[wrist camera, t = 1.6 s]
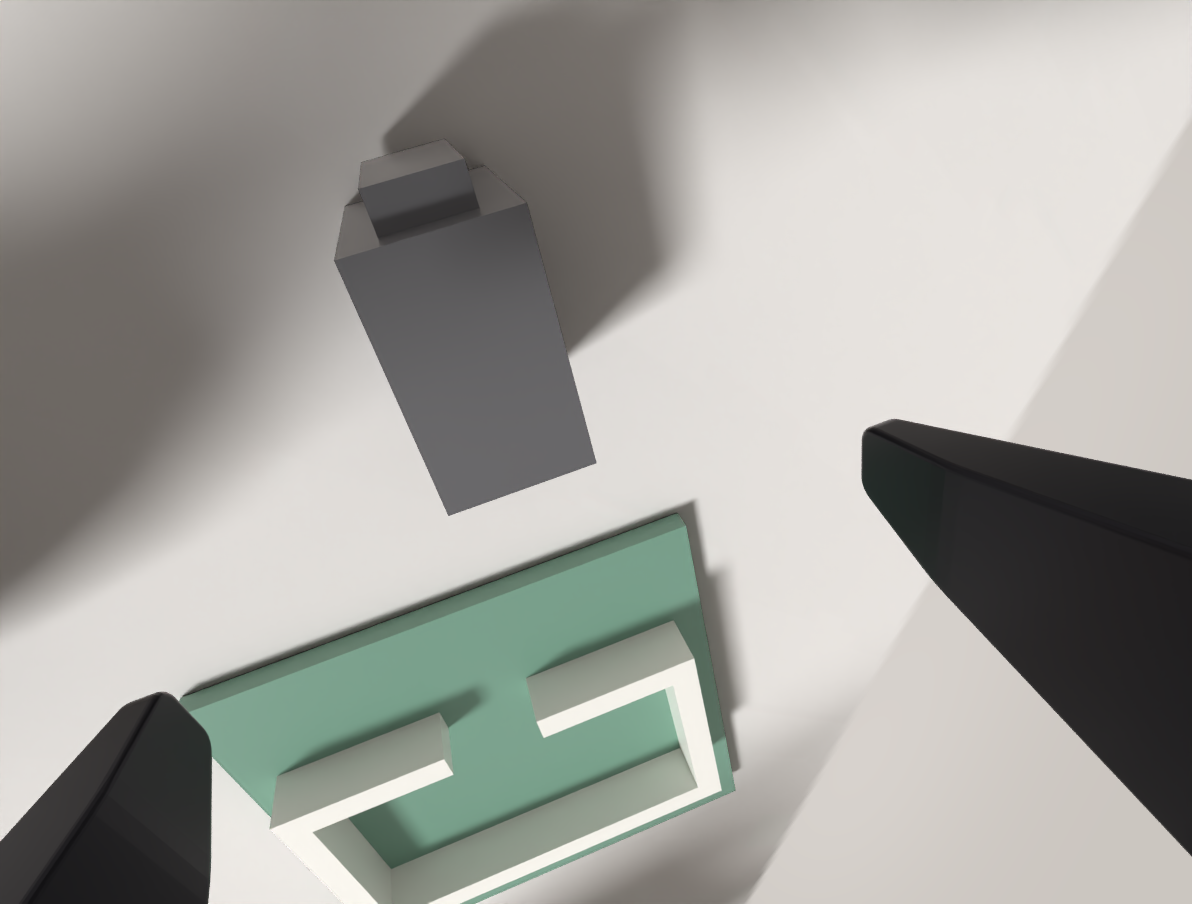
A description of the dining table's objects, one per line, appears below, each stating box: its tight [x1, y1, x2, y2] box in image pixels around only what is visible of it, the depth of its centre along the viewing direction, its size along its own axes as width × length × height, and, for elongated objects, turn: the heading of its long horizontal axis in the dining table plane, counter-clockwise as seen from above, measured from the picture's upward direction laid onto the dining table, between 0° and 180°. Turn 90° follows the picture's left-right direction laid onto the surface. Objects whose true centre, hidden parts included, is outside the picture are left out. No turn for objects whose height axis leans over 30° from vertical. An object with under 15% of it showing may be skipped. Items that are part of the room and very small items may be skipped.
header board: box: [179, 513, 735, 904], centre depth 27 cm, size 18×18×3 cm
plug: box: [334, 139, 596, 516], centre depth 16 cm, size 4×7×6 cm, turn 13°
